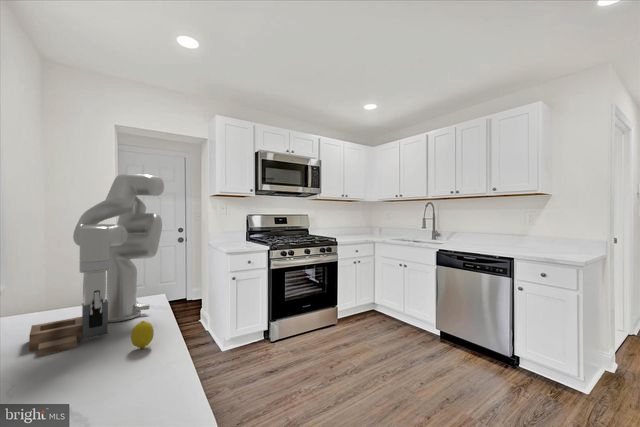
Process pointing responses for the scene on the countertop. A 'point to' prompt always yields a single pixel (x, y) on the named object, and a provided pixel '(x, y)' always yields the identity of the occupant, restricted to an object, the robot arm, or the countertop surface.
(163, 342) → the countertop surface
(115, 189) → the robot arm
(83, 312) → the bracket
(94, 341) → the countertop surface
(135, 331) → the lemon
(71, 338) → the socket
